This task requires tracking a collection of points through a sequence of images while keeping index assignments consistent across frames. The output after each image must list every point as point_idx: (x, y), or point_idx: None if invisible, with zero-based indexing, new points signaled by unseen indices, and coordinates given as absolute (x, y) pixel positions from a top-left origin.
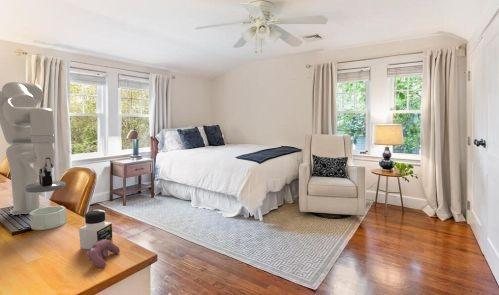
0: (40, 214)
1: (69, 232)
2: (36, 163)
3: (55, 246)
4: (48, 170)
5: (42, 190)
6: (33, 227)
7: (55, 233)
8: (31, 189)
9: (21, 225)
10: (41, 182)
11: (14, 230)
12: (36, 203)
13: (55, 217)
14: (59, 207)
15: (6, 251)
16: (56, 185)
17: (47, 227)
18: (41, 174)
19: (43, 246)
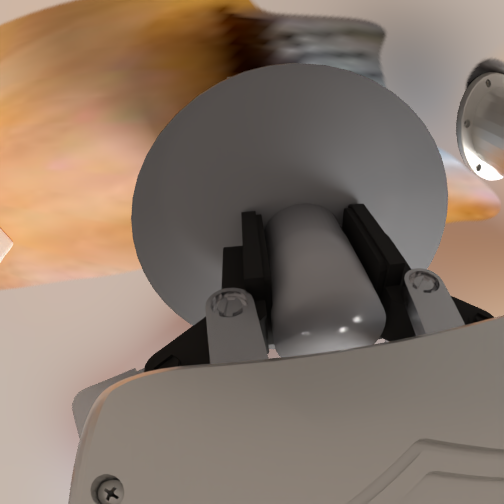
0: None
1: (103, 189)
2: (361, 456)
3: (11, 144)
4: (76, 402)
5: (137, 188)
6: (227, 77)
7: (122, 146)
8: (185, 106)
9: (340, 51)
10: (298, 223)
11: (288, 18)
12: (490, 159)
13: None
14: None
15: (56, 9)
16: None
17: None
18: (308, 294)
19: (27, 111)
